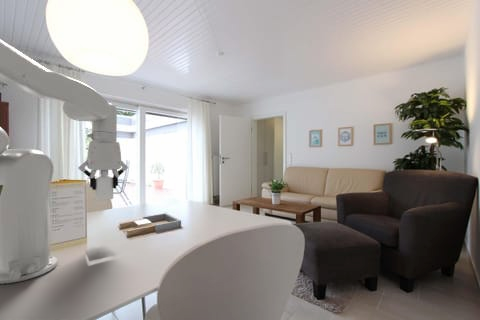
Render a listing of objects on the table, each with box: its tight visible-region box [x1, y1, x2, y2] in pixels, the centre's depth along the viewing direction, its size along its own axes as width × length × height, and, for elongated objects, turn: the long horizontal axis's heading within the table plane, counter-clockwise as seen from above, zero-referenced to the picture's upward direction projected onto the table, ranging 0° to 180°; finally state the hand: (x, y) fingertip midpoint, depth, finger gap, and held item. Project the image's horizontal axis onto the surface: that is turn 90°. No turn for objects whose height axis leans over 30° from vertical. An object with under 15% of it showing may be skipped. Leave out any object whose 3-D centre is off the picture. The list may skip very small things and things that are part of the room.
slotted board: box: [117, 218, 185, 240], centre depth 92 cm, size 20×20×3 cm
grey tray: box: [142, 212, 182, 232], centre depth 95 cm, size 16×10×2 cm, turn 40°
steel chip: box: [133, 219, 152, 228], centre depth 91 cm, size 6×5×3 cm
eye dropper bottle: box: [94, 170, 114, 202], centre depth 81 cm, size 4×6×12 cm
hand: (104, 188), depth 81 cm, fingers closed on eye dropper bottle, 5 cm apart
